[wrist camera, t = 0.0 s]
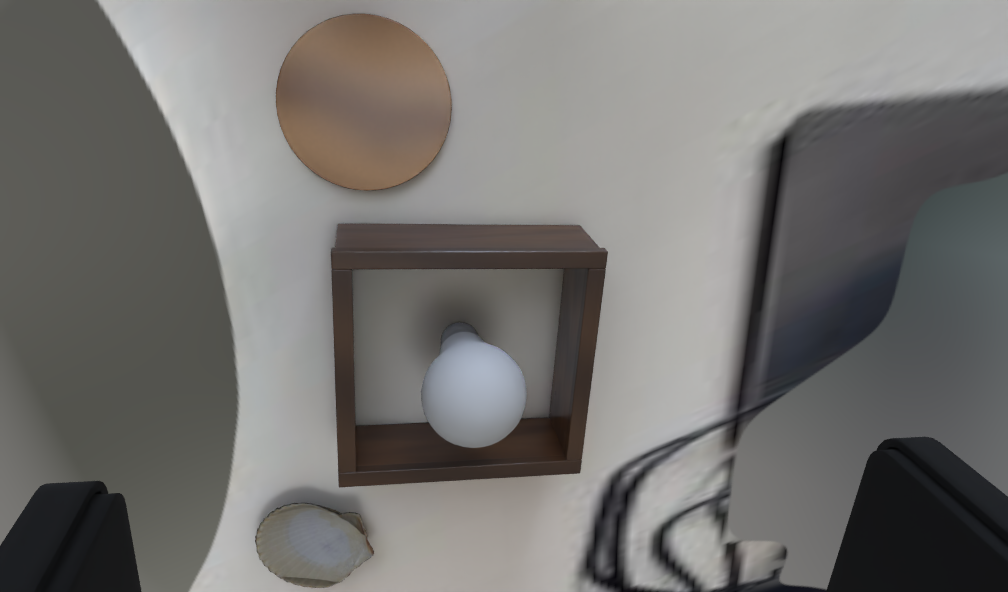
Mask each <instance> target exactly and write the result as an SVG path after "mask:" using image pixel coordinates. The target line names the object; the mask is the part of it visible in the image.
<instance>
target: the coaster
mask: <svg viewBox="0 0 1008 592" xmlns="http://www.w3.org/2000/svg"><path fill="white" fill-rule="evenodd" d="M276 107H277V115H278V119H279V123H280V126H281V129H282V131H283V134H284V136H285V138H286V140H287V142H288V144H289V145H290V147H291V149H292V150H293V151H294V153H295V154H296V155H297V157H298V158H299V159H300V160H301V161H302V162H303V163H304V164H305V165H306V166H307V167H308V168H309V169H311V170H312V171H313V172H314V173H316V174H317V175H319V176H320V177H322V178H323V179H325V180H327V181H329V182H332V183H334V184H336V185H339V186H342V187H345V188H350V189H355V190H381V189H386V188H390V187H394V186H397V185H400V184H402V183H404V182H406V181H408V180H410V179H411V178H413V177H415V176H416V175H418V174H419V173H420V172H421V171H423V170H424V169H425V168H426V167H427V166H428V165H429V164H430V163H431V162H432V161H433V159H434V158H435V156H436V155H437V154H438V152H439V151H440V149H441V147H442V145H443V143H444V141H445V138H446V136H447V133H448V129H449V125H450V121H451V110H452V107H451V94H450V87H449V84H448V80H447V77H446V74H445V72H444V70H443V67H442V65H441V63H440V62H439V60H438V58H437V57H436V55H435V54H434V52H433V51H432V50H431V48H430V47H429V46H428V45H427V44H426V43H425V42H424V41H423V40H422V39H421V38H420V37H419V36H418V35H417V34H415V33H414V32H413V31H411V30H410V29H409V28H407V27H405V26H403V25H402V24H400V23H398V22H395V21H393V20H391V19H388V18H385V17H381V16H377V15H370V14H348V15H342V16H338V17H335V18H331V19H328V20H326V21H324V22H322V23H320V24H318V25H316V26H315V27H313V28H312V29H310V30H309V31H308V32H306V33H305V34H304V35H303V36H302V37H301V38H300V39H299V40H298V41H297V42H296V43H295V45H294V46H293V47H292V48H291V50H290V52H289V53H288V55H287V56H286V58H285V60H284V63H283V65H282V67H281V70H280V73H279V77H278V81H277V88H276Z"/></svg>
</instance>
